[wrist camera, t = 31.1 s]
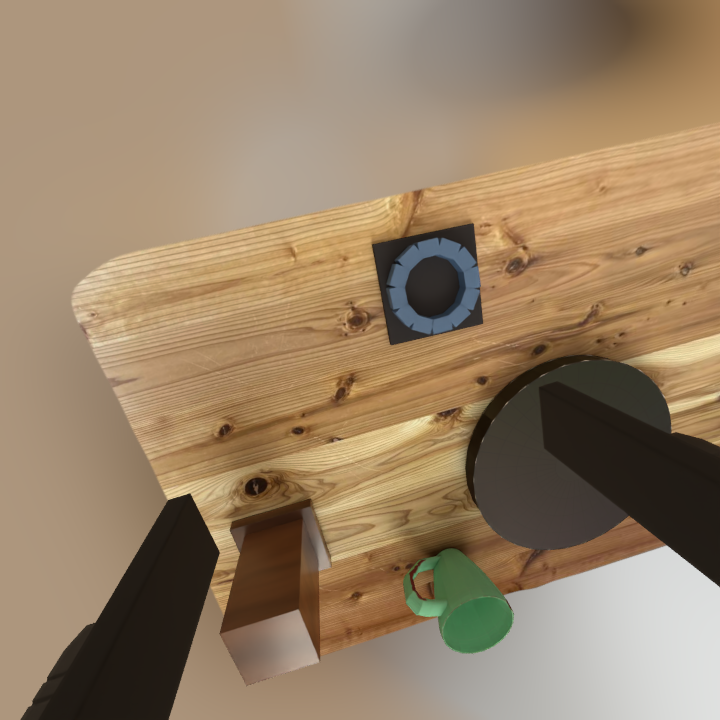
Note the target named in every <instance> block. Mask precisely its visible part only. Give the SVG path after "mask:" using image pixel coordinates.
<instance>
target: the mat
mask: <svg viewBox="0 0 720 720" xmlns="http://www.w3.org/2000/svg"><path fill="white" fill-rule="evenodd" d="M437 237H438V238H445V239H448V240H451V241H453V242H456V243H459V244H461V246H460V247H465V248H466V249H467V251H468V252H469V253H470V254H471V256H472V257H473V258H474V260H475V261H476V262H477V254H476V243H475V233H474V224H473V223H472V224H467V225H463V226H458V227H453V228H448V229H444V230H439V231H434V232H429V233H425V234H420V235H415V236H410V237H406V238H401V239H396V240H391V241H387V242H382V243H377V244H373V245H372V246H373V252H374V257H375V263H376V268H377V274H378V280H379V285H380V291H381V296H382V302H383V307H384V313H385V318H386V324H387V329H388V335H389V340H390V344H391V345H394V344H399V343H403V342H407V341H412V340H416V339H420V338H424V337H429V336H433V335H437V334H442V333H446V332H450V331H454V330H459V329H463V328H467V327H472V326H476V325H480V324H483V318H482V307H481V297H480V293H479V295H478V298H477V301H476V304H475V306H474V309H473V310H470V309H467V310H468V311H469V312H470V313H471V314H470V315H469V316H468V317H466V318H465V319H464V320H463V321H462V322H461V323H460V324H459V325H458V326H457V327H454V326H452V330H448V331H445V332H441V333H437V334H432V333H430V334H426V333H423V332H419V331H415V330H412V329H410V328H409V327H407V326H405V325H404V324H403V323H402V322H401V321H400V320H399V318H398V317H397V316H396V315H395V314H394V313H393V312H392V310H393V309H392V308H390V305H389V300H388V295H387V291H386V288H388V287H392V286H390V285H387V284H386V283H387V280H388V277H389V273H390V270H391V267H392V264H397V263H396V262H395V261H394V260H395V259H396V258H397V257H398V256H399V255H400V254H401V253H402V252H403V251H404V250H405V249H406V248H407V247H408V246H410V245H413V243H417V242H421V241H425V240H429V239H433V238H437ZM474 266H478V265H477V263H476V264H475V265H474ZM459 288H460V286H459V279H458V272H457V271H456V269H455V268H454V267H453V266H452V264H451V263H450V262H449V261H448V260H447V259H444V258H441V257H438V256H431V257H427V258H423V259H422V260H421V261H420V262H419V263H417V264H416V265H415V266H414V267H413V268H412V269H411V270H410V272H409V275H408V279H407V282H406V285H405V291H406V296H407V301H408V304H409V305H410V306H411V307H412V309H413V310H414V311H415V312H416V313H417V314H419V315H422V316H426V317H431V316H435V315H439V314H443V313H444V312H445V311H446V310H447V309H448V308H449V307H450V306H451V305H452V304H454V302H455V299H456V296H457V294H458V291H459ZM474 289H477V290H480V287H478V288H474Z"/></svg>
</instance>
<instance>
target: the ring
mask: <svg viewBox="0 0 720 720" xmlns="http://www.w3.org/2000/svg"><path fill="white" fill-rule="evenodd" d="M460 246H461V244H459V243H456V242H453V241H451V240H448V239H445V238H438V237H437V238H433V239H429V240H425V241H421V242H417V243H413V245H410V246H408V247H407V248H406V249H405V250H404V251H403V252H402V253H401V254H400V255H399V256H398V257H397V258H396V259H395V260H394V261H395V262H396V263H397V264H392V267H391V270H390V273H389V277H388V280H387V283H386V284H387V285H390V286H392V287H388V288H386V291H387V295H388V300H389V305H390V308H392V309H393V310H392V312H393V313H394V314H395V315H396V316H397V317H398V318H399V320H400V321H401V322H402V323H403V324H404V325H405V326H407V327H409V328H410V329H412V330H415V331H419V332H423V333H426V334H430V333H432V334H437V333H441V332H445V331H448V330H452V326H454V327H457V326H458V325H459V324H460V323H461V322H462V321H463V320H464V319H465V318H466V317H468V316H469V315H470V314H471V313H470V312H469V311H468V310H467V309H470V310H473V309H474V306H475V304H476V301H477V298H478V295H479V293H480V290H477V289H474V288H478V287H481V285H480V277H479V269H478V266H474V265H475V264H476V263H477V262H476V261H475V260H474V258H473V257H472V256H471V254H470V253H469V252H468V251H467V249H466V248H465V247H460ZM431 256H438V257H441V258H444V259H447V260H448V261H449V262H450V263H451V264H452V266H453V267H454V268H455V269H456V271H457V272H458V279H459V286H460V288H459V291H458V294H457V296H456V299H455V302H454V304H452V305H451V306H450V307H449V308H448V309H447V310H446V311H445V312H444V313H443V314H439V315H435V316H431V317H426V316H422V315H419V314H417V313H416V312H415V311H414V310H413V309H412V307H411V306H410V305H409V304H408V301H407V296H406V291H405V285H406V282H407V279H408V275H409V272H410V270H411V269H412V268H413V267H414V266H415V265H416V264H417V263H419V262H420V261H421V260H422V259H423V258H427V257H431Z"/></svg>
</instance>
